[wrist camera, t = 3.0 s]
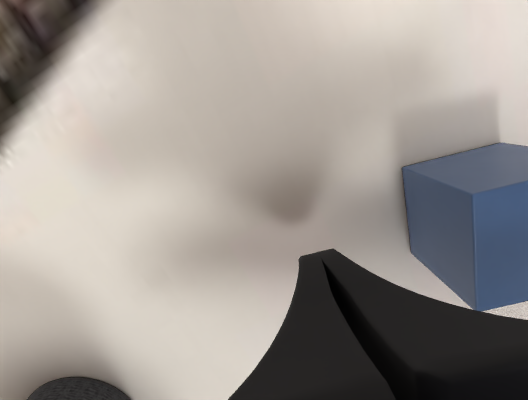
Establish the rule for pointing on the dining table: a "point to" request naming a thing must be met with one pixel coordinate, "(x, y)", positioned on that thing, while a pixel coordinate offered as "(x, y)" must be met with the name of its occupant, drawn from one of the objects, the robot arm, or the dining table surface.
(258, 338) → the dining table surface
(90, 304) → the dining table surface
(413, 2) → the dining table surface
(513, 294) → the blue block
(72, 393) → the coffee cup
